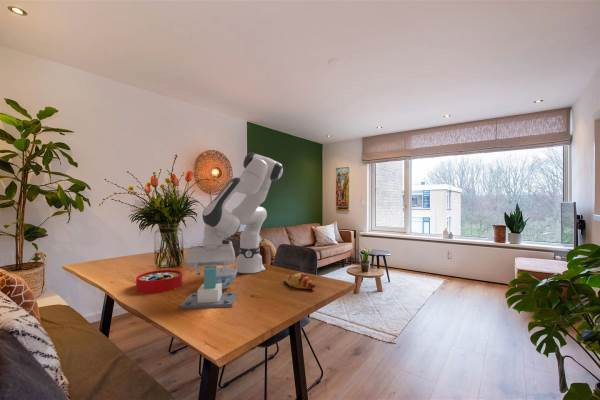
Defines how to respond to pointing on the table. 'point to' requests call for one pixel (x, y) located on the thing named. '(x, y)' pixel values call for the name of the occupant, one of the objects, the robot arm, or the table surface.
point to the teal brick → (210, 277)
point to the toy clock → (158, 281)
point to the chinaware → (225, 277)
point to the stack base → (221, 303)
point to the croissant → (299, 281)
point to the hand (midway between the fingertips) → (210, 273)
